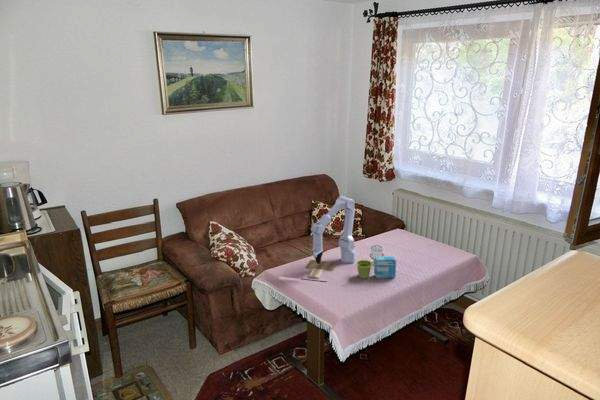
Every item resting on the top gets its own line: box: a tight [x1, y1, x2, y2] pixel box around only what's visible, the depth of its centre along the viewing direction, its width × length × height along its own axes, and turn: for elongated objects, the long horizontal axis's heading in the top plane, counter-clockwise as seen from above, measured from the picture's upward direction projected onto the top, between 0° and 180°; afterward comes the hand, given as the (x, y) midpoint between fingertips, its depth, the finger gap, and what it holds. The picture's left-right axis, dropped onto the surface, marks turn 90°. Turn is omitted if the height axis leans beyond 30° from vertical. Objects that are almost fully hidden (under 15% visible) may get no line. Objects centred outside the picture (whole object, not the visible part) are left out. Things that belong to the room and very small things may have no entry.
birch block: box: [308, 269, 324, 280], centre depth 251 cm, size 6×10×2 cm, turn 163°
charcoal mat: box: [301, 278, 328, 283], centre depth 251 cm, size 16×12×1 cm
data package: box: [373, 256, 397, 279], centre depth 247 cm, size 12×4×12 cm, turn 89°
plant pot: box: [355, 259, 373, 279], centre depth 248 cm, size 9×9×9 cm
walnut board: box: [304, 259, 338, 272], centre depth 263 cm, size 18×13×2 cm
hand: (318, 263), depth 255 cm, fingers closed
